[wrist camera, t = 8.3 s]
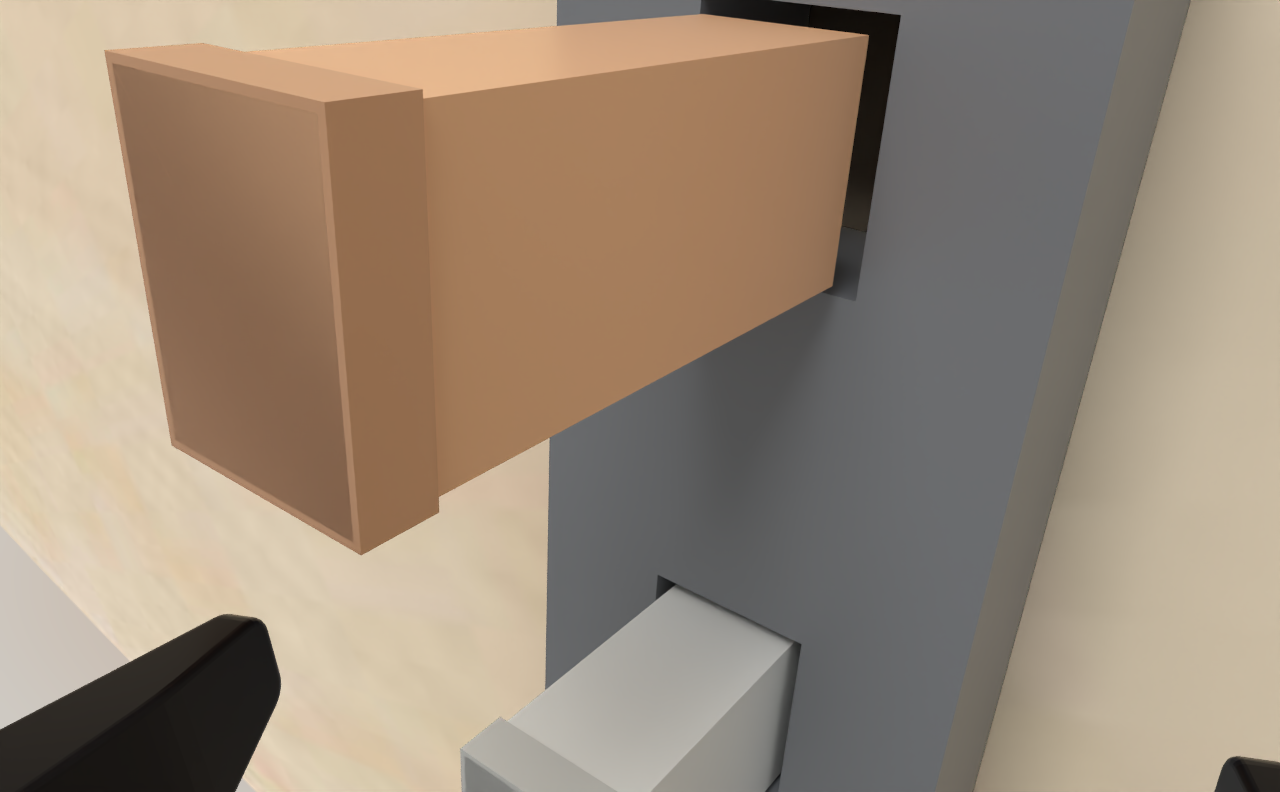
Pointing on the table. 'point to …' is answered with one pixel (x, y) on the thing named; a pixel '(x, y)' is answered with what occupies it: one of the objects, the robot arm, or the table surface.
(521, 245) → the terracotta plug
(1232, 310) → the table surface
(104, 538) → the table surface
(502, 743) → the grey plug
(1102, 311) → the block
